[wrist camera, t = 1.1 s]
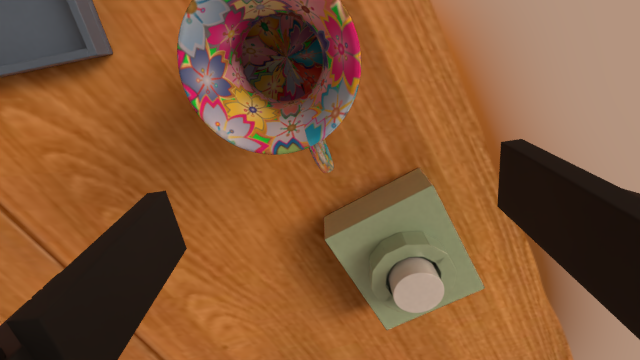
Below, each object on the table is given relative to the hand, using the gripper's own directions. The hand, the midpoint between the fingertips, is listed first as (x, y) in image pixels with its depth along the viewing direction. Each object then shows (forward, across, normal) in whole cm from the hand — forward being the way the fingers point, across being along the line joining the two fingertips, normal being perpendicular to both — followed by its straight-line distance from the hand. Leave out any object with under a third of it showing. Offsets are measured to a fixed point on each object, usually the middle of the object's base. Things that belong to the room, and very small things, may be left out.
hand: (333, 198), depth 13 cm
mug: (+17, -2, +4) cm, 17 cm away
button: (+11, +5, -14) cm, 18 cm away
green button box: (+16, +5, -14) cm, 22 cm away
